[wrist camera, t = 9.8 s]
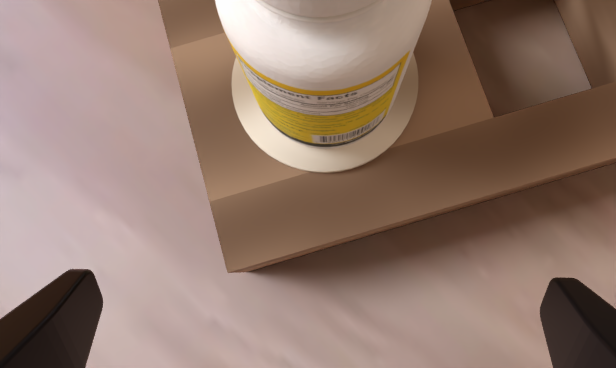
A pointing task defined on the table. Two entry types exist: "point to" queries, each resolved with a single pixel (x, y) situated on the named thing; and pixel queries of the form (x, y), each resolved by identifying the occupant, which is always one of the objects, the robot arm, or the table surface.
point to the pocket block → (383, 138)
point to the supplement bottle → (324, 62)
